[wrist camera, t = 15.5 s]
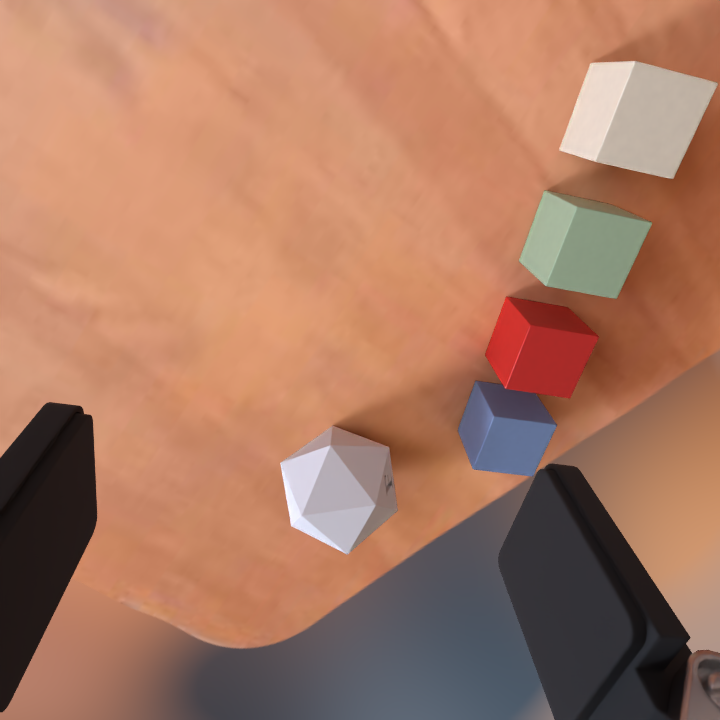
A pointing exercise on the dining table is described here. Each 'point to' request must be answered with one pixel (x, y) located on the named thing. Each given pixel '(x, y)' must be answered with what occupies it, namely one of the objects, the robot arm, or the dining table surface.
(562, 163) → the dining table surface
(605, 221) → the sage block
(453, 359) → the dining table surface
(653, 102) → the cream block
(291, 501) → the die
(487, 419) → the blue block
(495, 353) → the red block
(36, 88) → the dining table surface
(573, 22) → the dining table surface
